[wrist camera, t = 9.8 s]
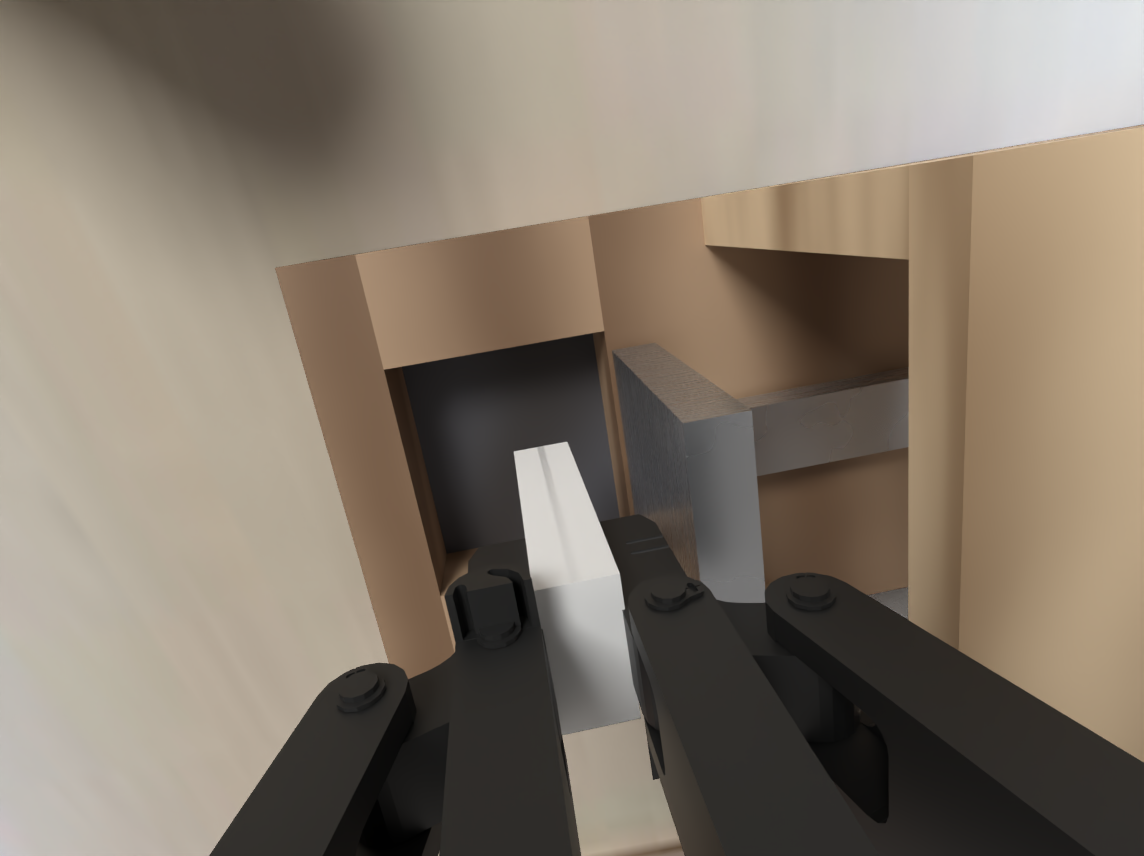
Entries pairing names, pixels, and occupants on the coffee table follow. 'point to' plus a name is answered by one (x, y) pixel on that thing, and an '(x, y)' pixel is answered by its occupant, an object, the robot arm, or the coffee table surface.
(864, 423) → the sled
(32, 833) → the coffee table surface
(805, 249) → the tan box
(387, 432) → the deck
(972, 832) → the robot arm
